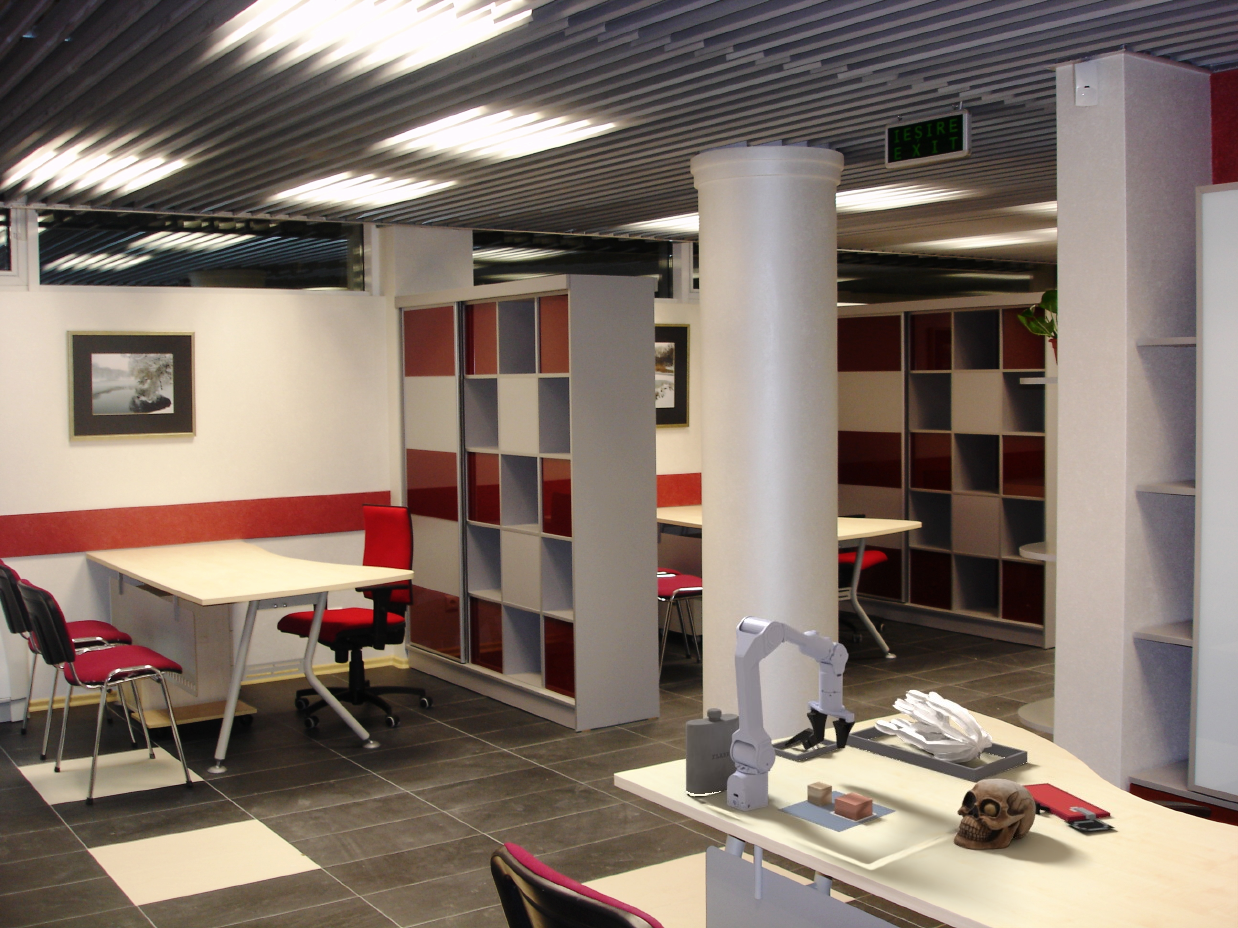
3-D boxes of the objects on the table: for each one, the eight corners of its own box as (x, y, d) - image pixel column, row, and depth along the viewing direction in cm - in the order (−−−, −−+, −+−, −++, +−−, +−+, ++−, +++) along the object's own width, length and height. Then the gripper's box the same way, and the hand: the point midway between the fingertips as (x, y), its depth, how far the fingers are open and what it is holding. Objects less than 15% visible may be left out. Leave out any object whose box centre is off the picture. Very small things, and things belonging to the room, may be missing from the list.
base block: (855, 820, 260) (855, 805, 260) (834, 813, 265) (834, 798, 265) (872, 814, 264) (872, 799, 264) (851, 807, 269) (851, 792, 269)
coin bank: (951, 845, 248) (955, 782, 248) (962, 826, 264) (966, 767, 264) (1028, 859, 241) (1032, 794, 242) (1035, 839, 257) (1039, 778, 258)
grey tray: (974, 781, 289) (974, 770, 289) (845, 744, 320) (845, 734, 320) (1027, 762, 304) (1027, 751, 304) (899, 729, 335) (899, 718, 335)
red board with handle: (1075, 836, 253) (1133, 830, 257) (1075, 823, 253) (1133, 817, 257) (994, 793, 282) (1047, 788, 286) (994, 782, 282) (1048, 777, 286)
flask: (696, 799, 278) (695, 716, 276) (681, 792, 283) (681, 711, 281) (745, 788, 286) (745, 707, 284) (731, 781, 290) (730, 702, 289)
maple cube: (820, 806, 270) (820, 789, 269) (807, 801, 273) (807, 784, 272) (831, 802, 272) (832, 785, 272) (818, 797, 275) (818, 781, 275)
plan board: (838, 836, 254) (838, 831, 254) (777, 813, 268) (777, 808, 268) (896, 814, 267) (896, 810, 266) (835, 794, 280) (835, 790, 280)
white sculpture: (1018, 731, 299) (937, 696, 332) (969, 699, 293) (891, 667, 326) (987, 790, 297) (909, 749, 330) (936, 759, 291) (862, 720, 324)
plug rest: (797, 761, 306) (797, 755, 306) (764, 751, 315) (764, 745, 315) (840, 748, 317) (840, 742, 317) (808, 738, 326) (808, 733, 326)
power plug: (786, 741, 322) (818, 722, 316) (800, 766, 320) (832, 747, 314) (776, 746, 318) (808, 727, 312) (790, 771, 316) (823, 752, 309)
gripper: (863, 693, 283) (863, 749, 284) (822, 681, 295) (822, 734, 296) (842, 697, 279) (841, 753, 280) (801, 685, 292) (801, 739, 292)
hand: (830, 744), depth 288 cm, fingers open, 7 cm apart
